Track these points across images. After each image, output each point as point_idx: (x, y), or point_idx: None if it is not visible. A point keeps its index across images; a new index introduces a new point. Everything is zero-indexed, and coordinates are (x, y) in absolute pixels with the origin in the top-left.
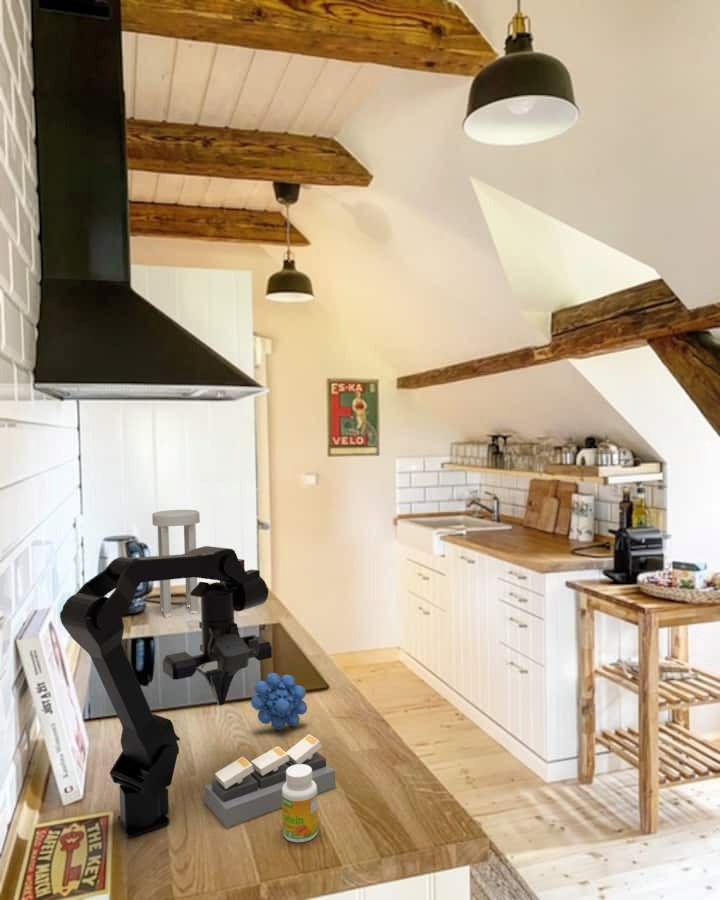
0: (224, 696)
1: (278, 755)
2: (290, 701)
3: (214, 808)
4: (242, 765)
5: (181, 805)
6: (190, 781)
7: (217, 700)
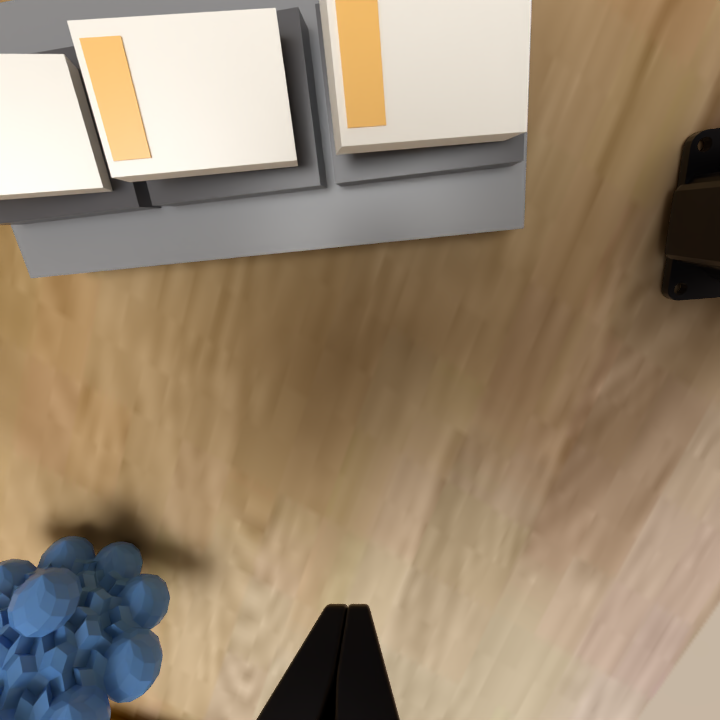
0: (307, 678)
1: (131, 61)
2: (5, 609)
3: None
4: (378, 32)
5: (580, 260)
6: (485, 402)
7: (381, 663)
